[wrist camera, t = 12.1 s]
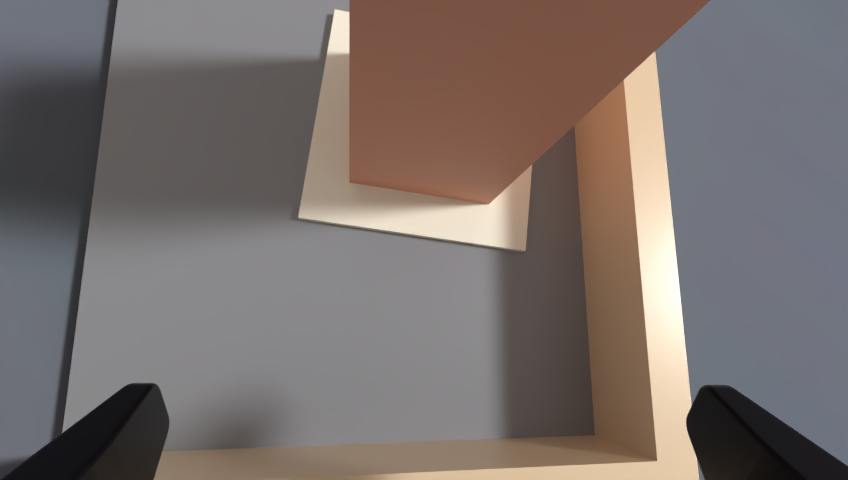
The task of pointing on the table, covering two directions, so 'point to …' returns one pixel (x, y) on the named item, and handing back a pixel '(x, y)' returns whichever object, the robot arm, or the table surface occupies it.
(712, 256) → the table surface
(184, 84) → the two-wall tray
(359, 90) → the terracotta block
